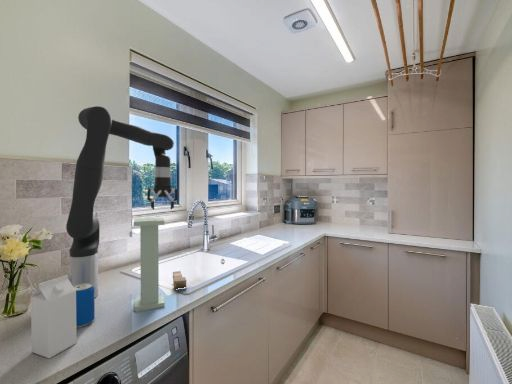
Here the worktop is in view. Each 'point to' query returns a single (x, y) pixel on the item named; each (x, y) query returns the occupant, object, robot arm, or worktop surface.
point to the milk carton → (53, 317)
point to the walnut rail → (178, 280)
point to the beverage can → (84, 304)
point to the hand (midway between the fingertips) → (162, 209)
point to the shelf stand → (149, 264)
